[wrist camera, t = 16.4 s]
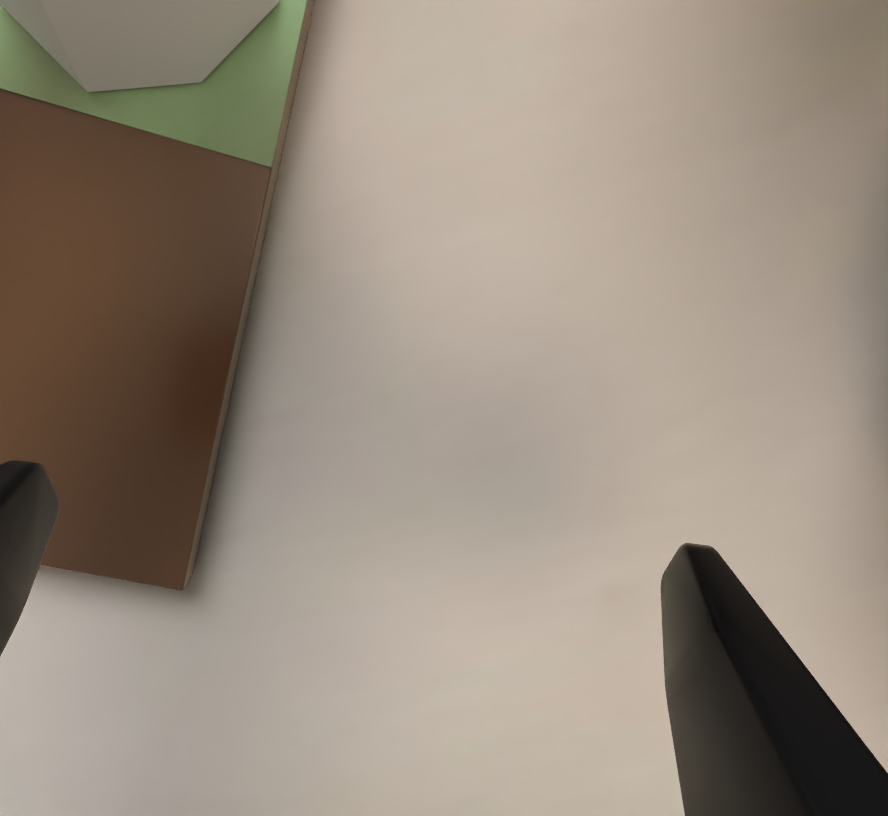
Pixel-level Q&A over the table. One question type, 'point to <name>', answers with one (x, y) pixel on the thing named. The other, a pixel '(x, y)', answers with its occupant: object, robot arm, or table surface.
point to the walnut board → (132, 285)
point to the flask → (138, 37)
